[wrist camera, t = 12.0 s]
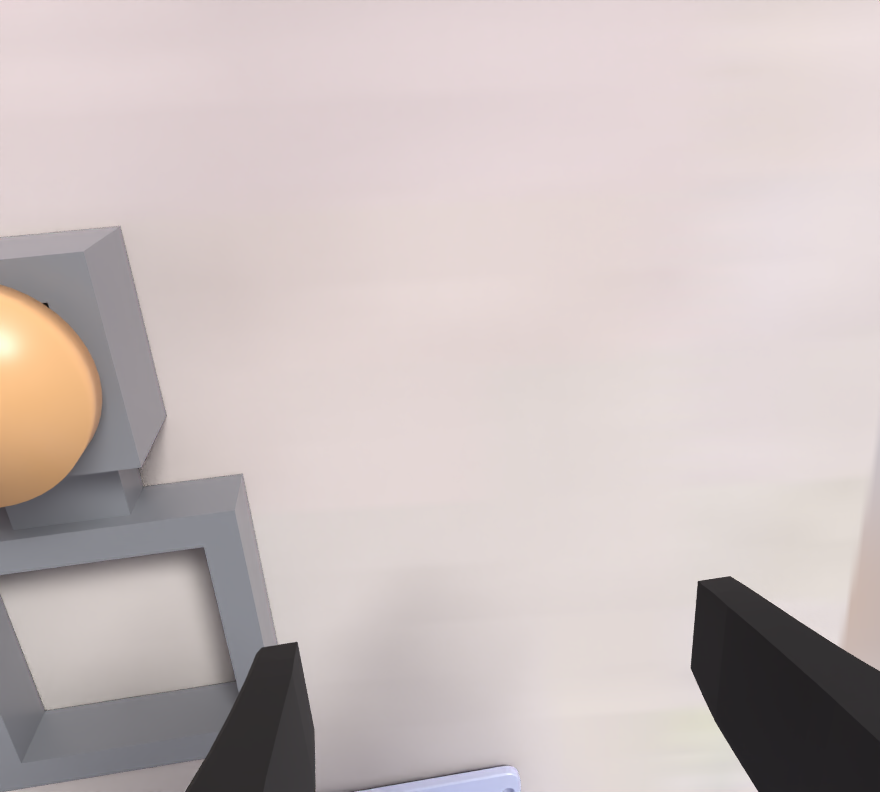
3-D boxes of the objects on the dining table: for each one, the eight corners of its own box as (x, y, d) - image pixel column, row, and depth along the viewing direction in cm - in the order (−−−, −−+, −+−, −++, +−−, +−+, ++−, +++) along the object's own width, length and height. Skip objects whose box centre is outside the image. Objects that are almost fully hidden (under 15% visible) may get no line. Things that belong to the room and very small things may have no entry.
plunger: (152, 420, 20) (114, 493, 16) (-38, 442, 19) (-119, 523, 16) (106, 240, 18) (52, 278, 14) (-106, 260, 17) (-216, 306, 14)
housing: (288, 696, 25) (283, 772, 22) (21, 738, 24) (-18, 823, 21) (190, 219, 18) (165, 243, 16) (-178, 254, 18) (-272, 286, 15)
